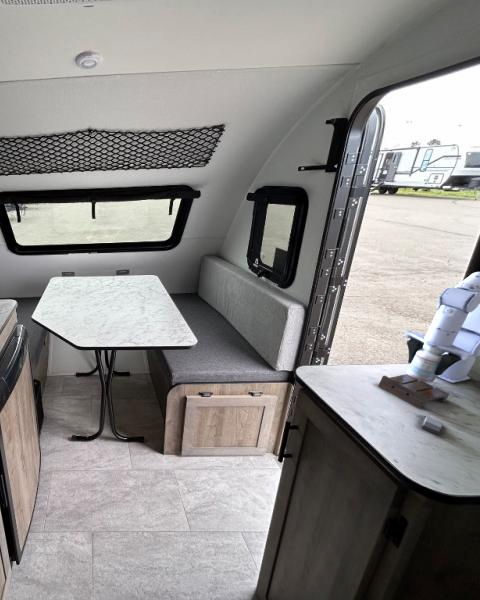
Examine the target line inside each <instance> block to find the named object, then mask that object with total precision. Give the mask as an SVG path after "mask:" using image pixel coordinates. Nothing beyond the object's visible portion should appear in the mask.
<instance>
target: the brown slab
mask: <svg viewBox="0 0 480 600" xmlns="http://www.w3.org/2000/svg"><path fill="white" fill-rule="evenodd" d="M378 387H379V388H381V390H382V389H383V390H384V391H386V392H387V393H389V394H392V395H394V396H396V397H397V398H399V399H401V400H403V401H405V402H406V403H409V404H410V405H412V406H414V407H416V408H418V409H420V408H421V409H422V408H423V407H424V405H425V404H426V403H427V402H431V401H435V400H436V401H439V402H441V403H443V402H446V401H447V399H448V398H449V396H450V393H448V392H446V391H444V390H442V389H440V388H438V387H434V385H431V384H430V383H426V382H423V381H419V379H417V378H415V377H413V376H410V375H408V374H407V373H405V374H402V375H401V374H400V375H396V376H391V377H389V376H387V375H382V376H381V378H380V381H379V383H378Z"/></svg>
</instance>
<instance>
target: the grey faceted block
mask: <svg viewBox="0 0 480 600" xmlns="http://www.w3.org/2000/svg"><path fill="white" fill-rule="evenodd" d="M420 428H421V429H422V430H424V431H427V432H429V433H432V434H434V435H436V436H439V434H440V432H441V430H442V428H443V422H442V421H439V420H436V419H435V418H431V417H430V416H427V415H424V416H423V417H422V422H421V426H420Z"/></svg>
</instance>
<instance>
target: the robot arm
mask: <svg viewBox="0 0 480 600" xmlns="http://www.w3.org/2000/svg"><path fill="white" fill-rule="evenodd" d="M435 310H436V313H435V316H434V317H433V319H432V322H431V323H430V326H429V327H428V330H427V332H426V334H423V333H419V332H415V331H413V330H406V331H405V333H404V334H403V337H404V338H407V339H409V340H406V346H407V349H408V360H407V363H408V364H411V362H412V360H413V358H414V356H415V354H416V352H417V351H418V350H419V349H423V345H424V343H425V344H426V345H429V346H432V347H437V348H440V349H444V352H445V353H444V354H442V359H441V362H440V365H439V367H438V368H437V370H436V372H435V375H437V376H436V377H438V378H440V379H443V380H444V381H446V382H449V383H451V384H455V383H459V382H464V381H468V380H471V377H470V376H468V374H469V372H470V370H471V369H472V367H473V365H474V364H475V362H476V358H477V357H480V271H476V272H473V273H470V274H469V276H468V277H466V278H465V279H463V280H462V281H461V282H459V283H458V284H457V285H456V286H453V287H448V288H445V289H444V290H443V291H442V293H441V294H440V296H438V299H437V306H436V309H435Z"/></svg>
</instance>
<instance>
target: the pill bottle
mask: <svg viewBox="0 0 480 600" xmlns="http://www.w3.org/2000/svg"><path fill="white" fill-rule="evenodd" d="M444 353H445V352H444V349H440V348H437V347H432V346H429V345H426V344H425V343H424V345H423V348H422V349H419V350H418V351H417V352H416V354H415V356H414V358H413V360H412V362H411V363H409V366H408V369H407V371H406V374H408V375H410V376H413V377H415V378H417V379H419V381H423V382H425V383H427V384H431V383H434V382H435V380H436V378H437V377H438V376H437V375H435V372H436V370H437V368H438V367H439V365H440V362H441V359H442V354H444Z"/></svg>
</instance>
